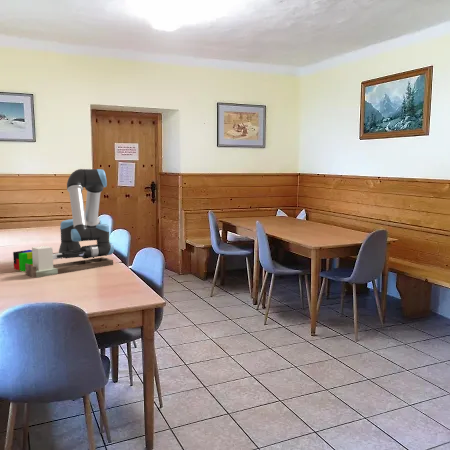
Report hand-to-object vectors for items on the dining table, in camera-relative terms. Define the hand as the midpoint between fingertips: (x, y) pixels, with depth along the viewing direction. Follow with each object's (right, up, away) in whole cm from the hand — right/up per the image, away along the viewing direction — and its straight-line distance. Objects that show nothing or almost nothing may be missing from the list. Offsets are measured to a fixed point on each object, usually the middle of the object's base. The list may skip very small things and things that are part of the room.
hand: (50, 257), depth 257 cm
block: (-3, -6, -2) cm, 7 cm away
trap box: (+8, -8, +10) cm, 15 cm away
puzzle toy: (-18, -8, +12) cm, 23 cm away
